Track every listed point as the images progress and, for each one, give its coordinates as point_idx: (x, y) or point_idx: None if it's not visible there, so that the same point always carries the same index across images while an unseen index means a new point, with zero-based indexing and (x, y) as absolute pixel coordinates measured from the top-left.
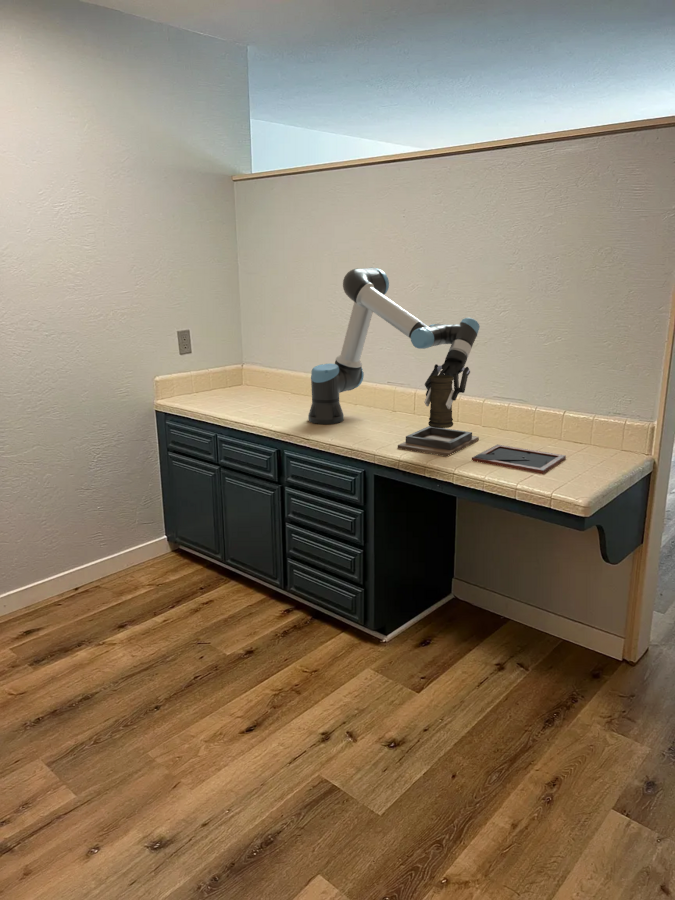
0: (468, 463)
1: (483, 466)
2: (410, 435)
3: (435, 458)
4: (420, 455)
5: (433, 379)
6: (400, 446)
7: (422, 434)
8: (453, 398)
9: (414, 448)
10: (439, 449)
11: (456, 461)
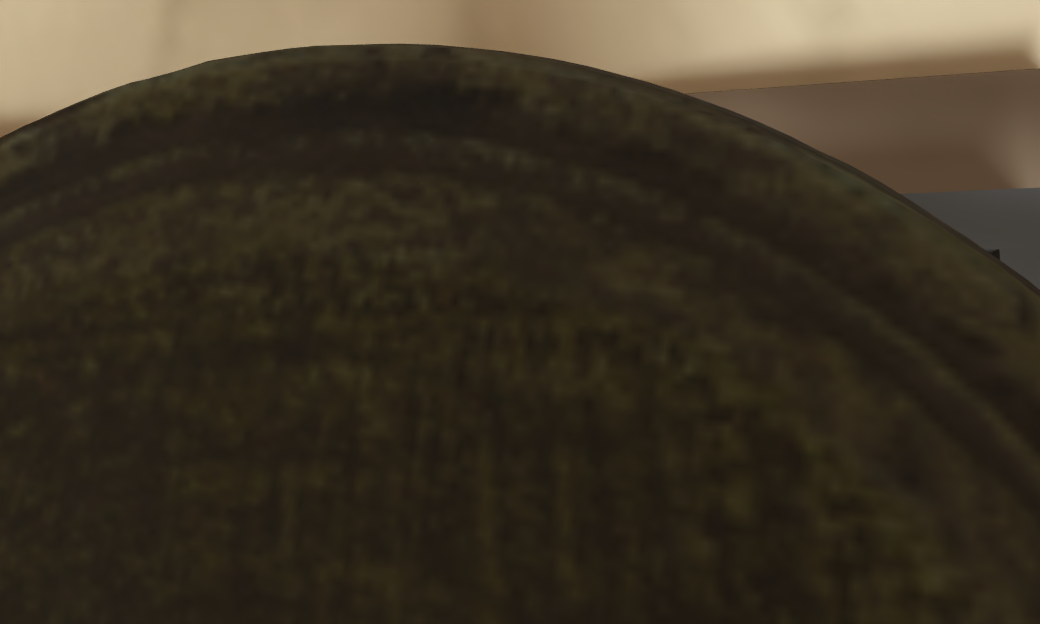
0: (146, 57)
1: (15, 58)
2: (1028, 268)
3: (465, 8)
4: (649, 3)
5: (599, 72)
6: (1012, 75)
7: None
8: None
9: (797, 87)
10: None
11: (256, 45)
